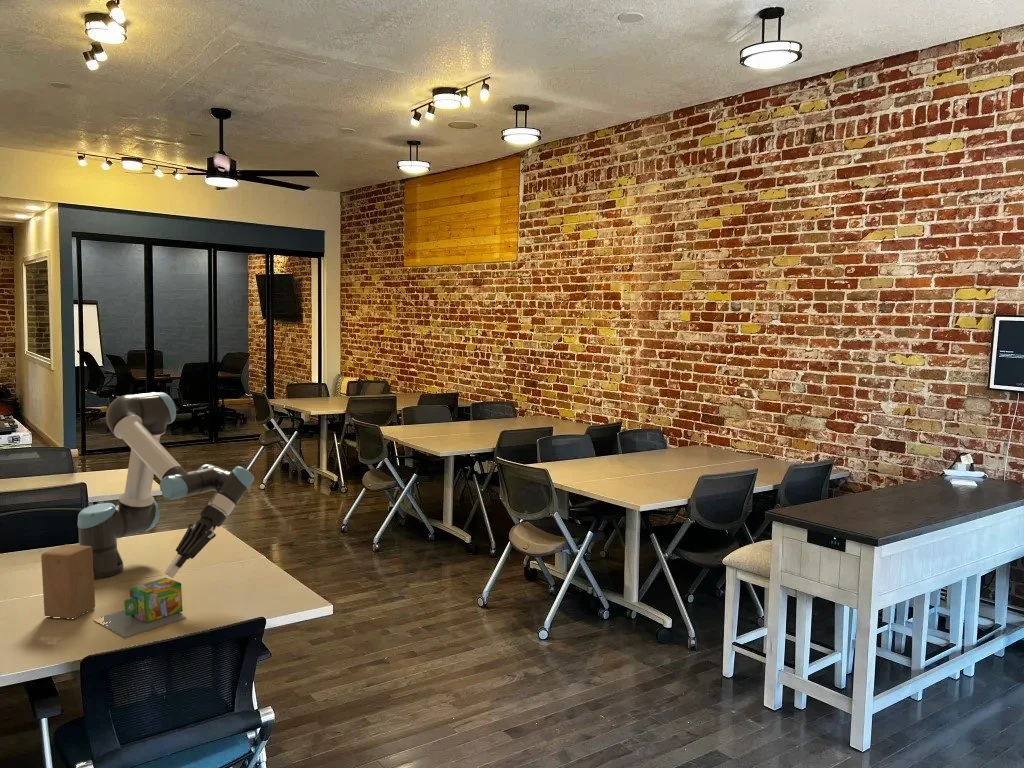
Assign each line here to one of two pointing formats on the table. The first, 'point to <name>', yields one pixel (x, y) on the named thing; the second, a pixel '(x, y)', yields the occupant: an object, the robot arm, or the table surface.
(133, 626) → the mat
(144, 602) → the chalk box
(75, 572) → the wooden block
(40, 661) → the table surface
